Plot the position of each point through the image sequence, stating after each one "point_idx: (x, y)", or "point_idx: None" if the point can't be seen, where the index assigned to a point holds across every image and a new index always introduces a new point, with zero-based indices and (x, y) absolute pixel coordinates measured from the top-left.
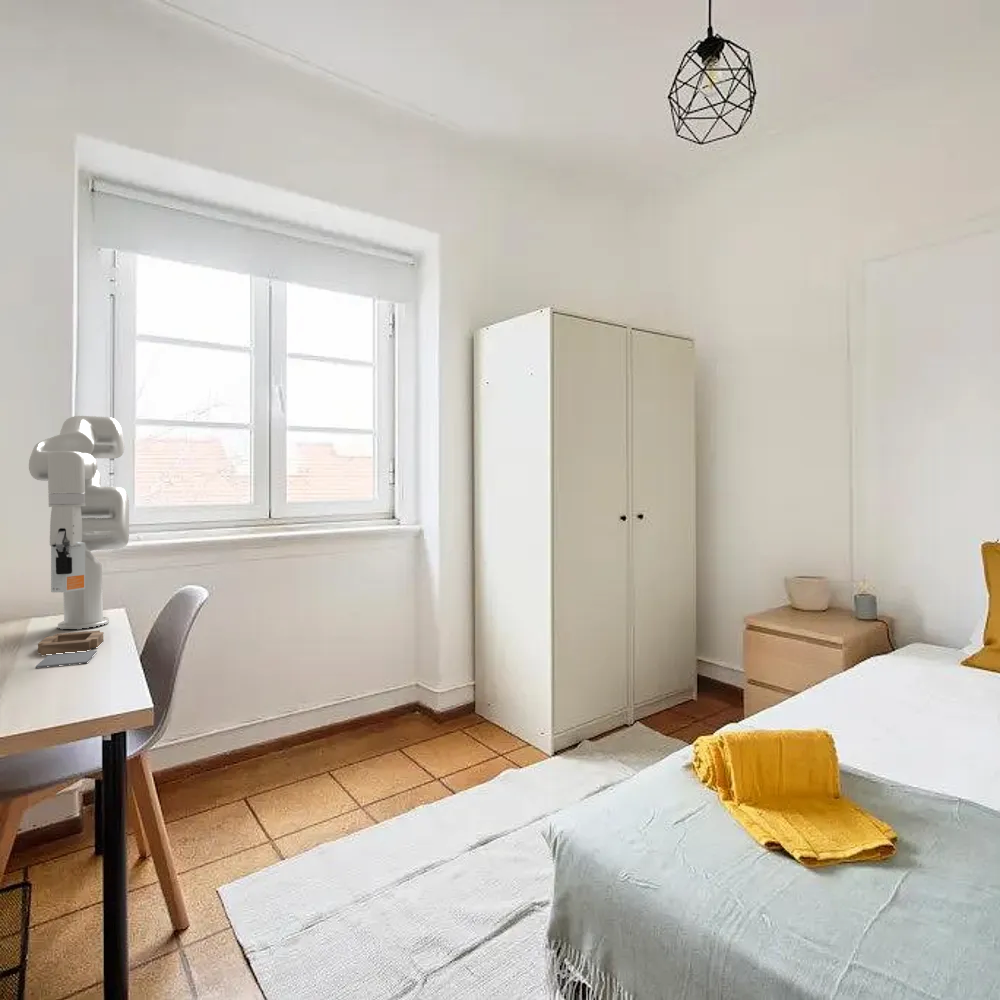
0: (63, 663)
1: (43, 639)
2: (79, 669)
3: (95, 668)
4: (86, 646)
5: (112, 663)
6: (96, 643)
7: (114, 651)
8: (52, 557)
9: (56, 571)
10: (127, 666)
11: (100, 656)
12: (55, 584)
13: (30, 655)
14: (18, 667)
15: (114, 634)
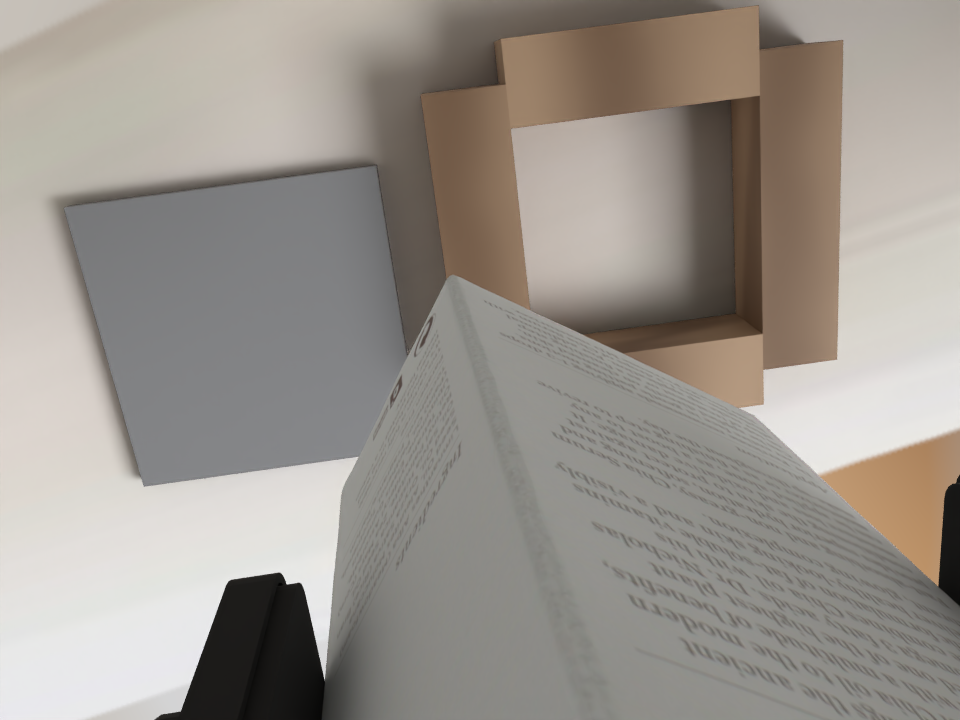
0: (115, 362)
1: (649, 22)
2: (21, 481)
3: (34, 559)
4: None
5: (133, 611)
6: None
7: None
8: (520, 668)
9: (225, 611)
10: (57, 703)
11: (315, 494)
12: (411, 392)
13: (457, 2)
14: (118, 67)
15: (937, 380)
